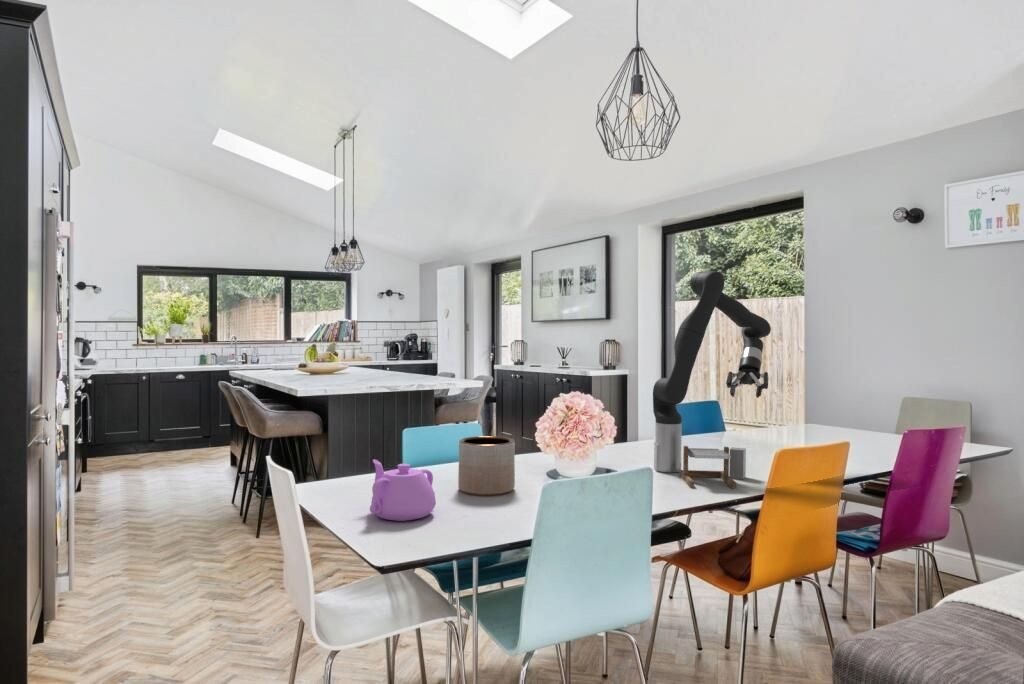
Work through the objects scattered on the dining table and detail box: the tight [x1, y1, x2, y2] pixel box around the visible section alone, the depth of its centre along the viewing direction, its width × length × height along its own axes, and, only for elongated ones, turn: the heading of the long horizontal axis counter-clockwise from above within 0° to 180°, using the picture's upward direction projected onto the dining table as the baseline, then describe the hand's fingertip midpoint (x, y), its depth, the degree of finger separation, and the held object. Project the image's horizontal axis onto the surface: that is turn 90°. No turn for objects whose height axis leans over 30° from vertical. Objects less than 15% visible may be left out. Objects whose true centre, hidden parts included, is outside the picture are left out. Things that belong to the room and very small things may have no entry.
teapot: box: [369, 459, 437, 522], centre depth 180 cm, size 22×22×14 cm
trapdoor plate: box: [688, 447, 731, 460], centre depth 220 cm, size 15×11×3 cm
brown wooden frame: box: [679, 445, 738, 490], centre depth 221 cm, size 18×15×12 cm
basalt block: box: [729, 446, 747, 481], centre depth 228 cm, size 4×4×10 cm
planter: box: [457, 435, 516, 497], centre depth 208 cm, size 18×18×16 cm
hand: (744, 395), depth 237 cm, fingers open, 8 cm apart
